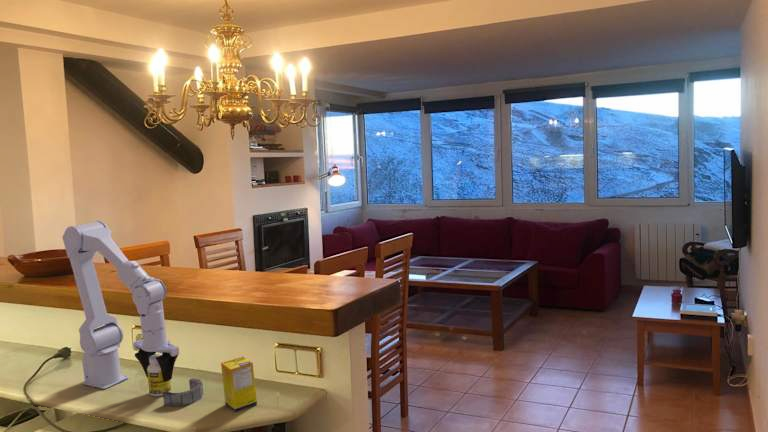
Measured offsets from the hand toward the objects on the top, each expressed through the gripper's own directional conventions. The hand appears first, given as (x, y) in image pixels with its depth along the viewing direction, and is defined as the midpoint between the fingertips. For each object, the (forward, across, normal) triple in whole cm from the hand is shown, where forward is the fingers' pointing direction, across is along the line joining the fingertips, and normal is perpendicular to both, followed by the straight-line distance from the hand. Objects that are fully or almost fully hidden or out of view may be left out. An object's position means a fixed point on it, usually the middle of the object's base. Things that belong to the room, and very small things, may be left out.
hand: (159, 378), depth 162 cm
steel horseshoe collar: (+4, -10, 0) cm, 10 cm away
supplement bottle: (+4, 0, 0) cm, 4 cm away
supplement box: (+4, -25, -2) cm, 25 cm away
